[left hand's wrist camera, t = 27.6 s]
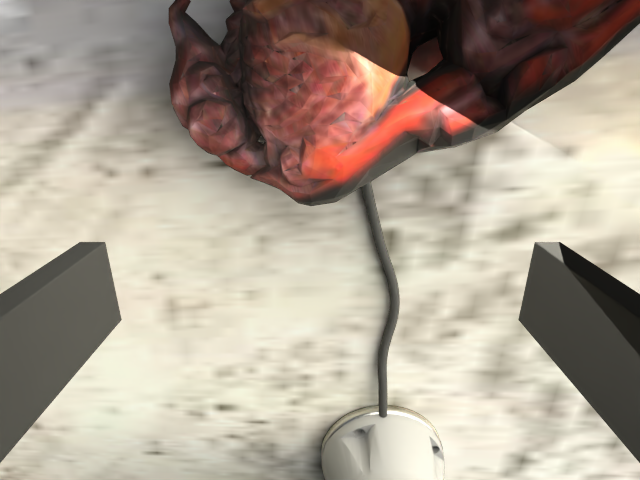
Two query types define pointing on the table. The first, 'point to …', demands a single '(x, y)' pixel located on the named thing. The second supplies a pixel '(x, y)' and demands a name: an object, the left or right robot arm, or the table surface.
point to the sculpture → (373, 80)
